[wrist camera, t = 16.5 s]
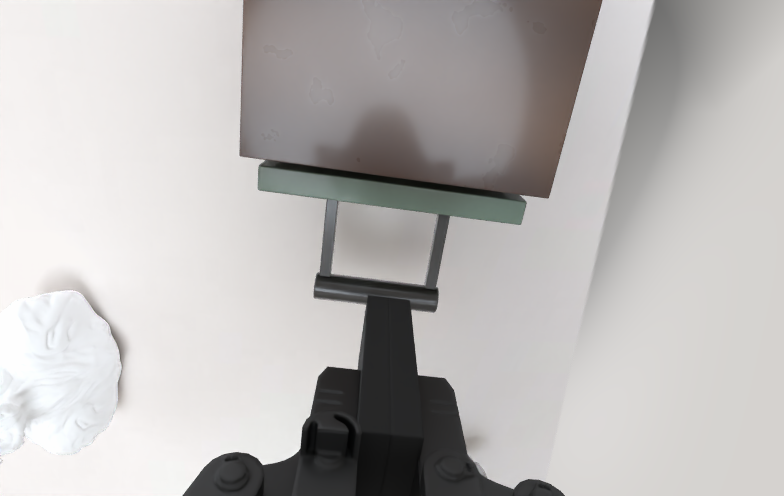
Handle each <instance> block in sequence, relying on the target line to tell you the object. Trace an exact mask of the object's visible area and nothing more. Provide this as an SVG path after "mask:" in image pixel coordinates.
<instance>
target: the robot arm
mask: <svg viewBox="0 0 784 496" xmlns="http://www.w3.org/2000/svg"><path fill="white" fill-rule="evenodd" d="M183 496H565V495H564V494H563V493H562V492H561V491H559V490H558V489H557V488H555V487H554V486H552V485H551V484H549V483H546V482H543V481H540V480H532V479H528V480H525V481H522V482H520V483H519V484H518V485H517V486H516V487H515V489H511V488H509V487H506V486H503V485H501V484H498V483H495V482H493V481H491V480H489V479H487V478H486V477H484V476H483V475H482V474H480V473H479V471H478V469H477V466H476V464H475V463H474V462H473V461H472V460H471V459H470V458H469V457H468V455H467V450H466V445H465V441H464V436H463V431H462V426H461V421H460V417H459V412H458V407H457V402H456V397H455V392H454V390H453V388H452V387H451V386H450V384H449V383H448V382H447V380H446V379H445V378H437V377H428V376H419V375H418V373H417V364H416V354H415V344H414V335H413V325H412V315H411V306H410V300H405V299H396V298H388V297H380V296H371V295H368V296H367V304H366V311H365V318H364V325H363V333H362V340H361V347H360V354H359V362H358V370H354V369H344V368H335V367H327V368H326V369H325V370H324V371H323V372H322V373H321V374H320V375H319V377H318V381H317V385H316V391H315V395H314V400H313V405H312V410H311V414H310V417H309V418H308V419H306V421H305V423H304V425H303V427H302V438H301V449H300V450H299V452H297V453H296V454H295V455H294V456H292V457H291V458H289V459H287V460H285V461H281V462H278V463H273V464H267V465H262V464H261V463H260V461H259V460H258V459H257V458H255V457H253V456H251V455H250V454H247V453H239V452H234V453H228V454H223V455H221V456H219V457H217V458H215V459H213V460H212V461H211V462H210V463H209V464H208V465H206V466H205V467H204V468H203V470H202V471H201V472H200V474H199V475H198V476H197V478H196V479H195V480H194V481H193V483H192V484H191V485H190V487H189V488H188V489H187V491H186V492H185V493H184V494H183Z"/></svg>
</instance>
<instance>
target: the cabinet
mask: <svg viewBox="0 0 784 496" xmlns="http://www.w3.org/2000/svg"><path fill="white" fill-rule="evenodd" d="M601 4H602V0H243V40H242V79H241V118H240V156H242V157H249V158H256V159H263V160H271V161H278V162H285V163H293V164H300V165H307V166H314V167H322V168H329V169H336V170H344V171H351V172H358V173H366V174H373V175H380V176H387V177H395V178H402V179H409V180H417V181H424V182H431V183H439V184H446V185H453V186H460V187H468V188H475V189H482V190H490V191H497V192H504V193H512V194H519V195H526V196H533V197H541V198H549V195H550V192H551V188H552V184H553V181H554V177H555V173H556V170H557V166H558V162H559V159H560V155H561V151H562V147H563V144H564V140H565V136H566V133H567V129H568V125H569V122H570V118H571V114H572V111H573V107H574V103H575V100H576V96H577V92H578V88H579V85H580V81H581V77H582V74H583V70H584V66H585V63H586V59H587V55H588V52H589V48H590V44H591V41H592V37H593V33H594V29H595V26H596V22H597V18H598V15H599V11H600V7H601Z"/></svg>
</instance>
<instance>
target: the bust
mask: <svg viewBox="0 0 784 496" xmlns="http://www.w3.org/2000/svg"><path fill="white" fill-rule="evenodd" d="M121 370H122V364H121V362H120V354H119V349H118V346H117V344H116V341H115V340H114V338H113V336H112V334H111V331H110V326H109V324H108V323H107V322H106V321H105V320H104V319H102V318H101V317H100V316H98V315H97V314H96V313H95V312H94V310H93V309H92V307H91V306H90V304H89V303H88V302H87V300H86V299H85V298H84V296H83V295H82V294H81V293H79V292H77V291H74V290H66V291H58V292H52V293H46V294H40V295H37V296H35V297H28V298H23V299H20V300H17V301H14V302H13V303H11V305H10V306H9V307H8V308H7V309H5V310H4V311H2V313H1V315H0V456H2V455H4V454H8V453H12V452H14V451H15V450H16V449H18V448H20V447H21V446H22V445H23V444H24V435H25V437H26V438H27V439H28V440H30V441H31V442H33V443H35V444H38V445H41V446H42V447H43V448H44V449H46V450H47V451H48V452H50V453H53V454H57V455H72V454H75V453H77V452H79V451H80V450H81V448H83V447H85V446H88V445H90V444H91V443H92V442H93V441H94V439H95V438H96V436H97V435H98V434H99V433H100V432H103V431H104V430H105V429H106V428H107V427H108V425H109V424H110V422H111V420H112V417H113V414H114V412H115V410H116V407H117V404H118V380H119V378H120V375H121ZM2 462H3V460H2V459H1V458H0V464H1V463H2Z"/></svg>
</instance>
